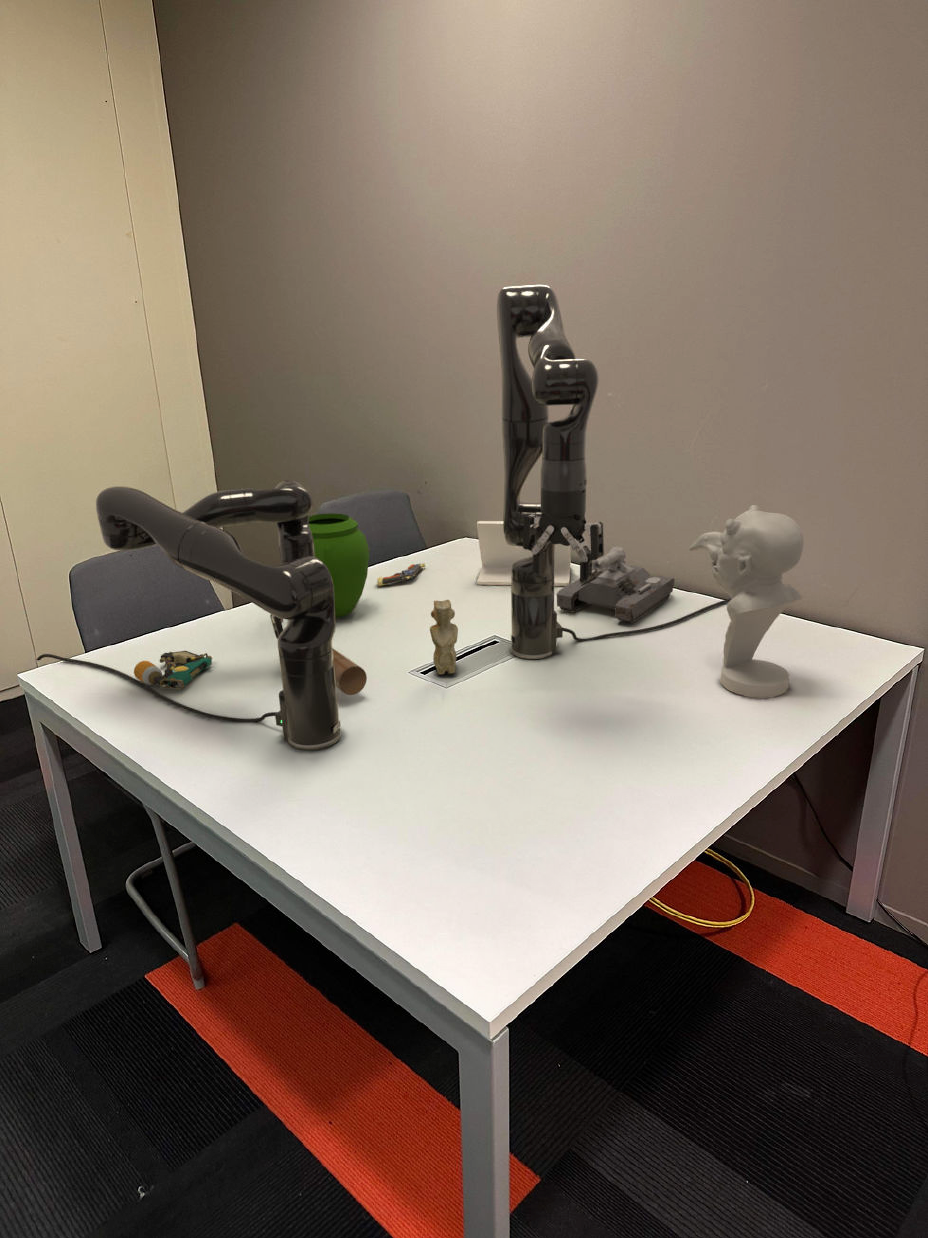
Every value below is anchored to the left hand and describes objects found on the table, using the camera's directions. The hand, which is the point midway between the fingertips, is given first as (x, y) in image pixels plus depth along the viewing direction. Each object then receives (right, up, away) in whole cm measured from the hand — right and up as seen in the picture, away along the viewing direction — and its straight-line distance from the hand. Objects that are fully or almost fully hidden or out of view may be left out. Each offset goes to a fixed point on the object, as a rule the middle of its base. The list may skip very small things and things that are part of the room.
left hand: (307, 653), depth 182 cm
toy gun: (+16, +19, +58) cm, 63 cm away
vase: (+1, +8, +32) cm, 33 cm away
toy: (+72, +11, +32) cm, 79 cm away
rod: (+5, -4, -6) cm, 9 cm away
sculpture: (+30, -4, -3) cm, 30 cm away
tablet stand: (+51, +19, +57) cm, 79 cm away
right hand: (+50, +14, -35) cm, 63 cm away
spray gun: (-27, -5, -1) cm, 28 cm away
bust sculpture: (+88, -5, -11) cm, 89 cm away
